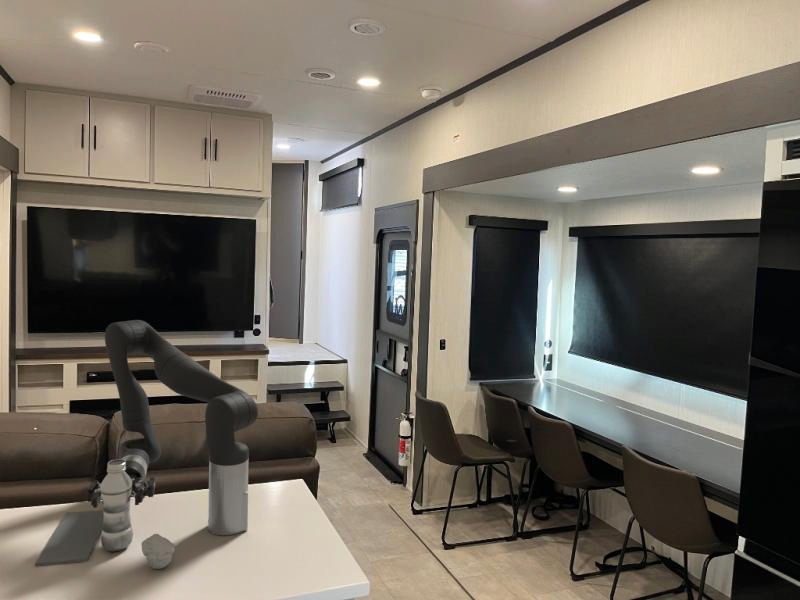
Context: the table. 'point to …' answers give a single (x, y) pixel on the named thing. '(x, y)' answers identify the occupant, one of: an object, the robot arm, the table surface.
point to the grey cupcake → (158, 551)
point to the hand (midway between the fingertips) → (116, 502)
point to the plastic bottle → (116, 507)
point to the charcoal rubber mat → (73, 538)
